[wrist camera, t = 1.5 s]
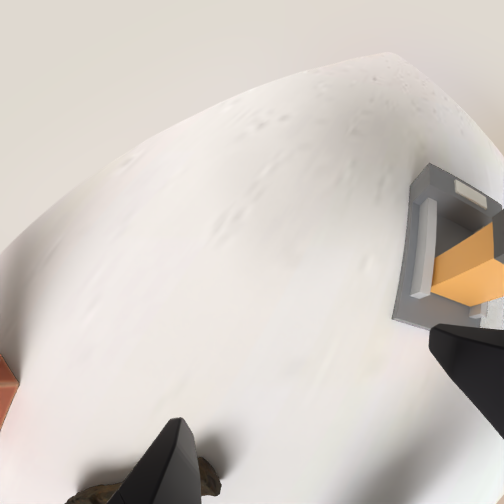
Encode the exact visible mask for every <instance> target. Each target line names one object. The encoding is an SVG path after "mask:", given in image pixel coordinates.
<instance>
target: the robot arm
mask: <svg viewBox="0 0 504 504" xmlns="http://www.w3.org/2000/svg"><path fill="white" fill-rule="evenodd" d="M429 350H430V351H431V353H432V354H433V356H434V357H435V358H436V360H437V361H438V362H439V364H440V365H441V366H442V368H443V369H444V370H445V372H446V373H447V374H448V376H449V377H450V378H451V379H452V380H453V382H454V383H455V384H456V385H457V386H458V387H459V388H460V389H461V390H462V391H463V393H464V394H465V395H466V396H467V397H468V398H469V399H470V400H471V401H472V403H473V404H474V405H475V406H476V407H477V408H478V409H479V411H480V412H481V413H482V414H483V415H484V416H485V418H486V419H487V420H488V421H489V422H490V423H491V425H492V426H493V427H494V428H495V429H496V431H497V432H498V433H499V434H500V435H501V437H502V438H503V439H504V330H497V329H486V328H477V327H468V326H459V325H450V324H442V323H439V324H437V325H435V326H433V327H432V328H431V329H430V335H429ZM106 504H201V485H200V472H199V466H198V460H197V454H196V448H195V441H194V436H193V433H192V431H191V430H190V428H189V427H188V425H187V423H186V422H185V420H184V419H183V418H181V417H179V418H173V419H170V420H169V421H168V423H167V424H166V425H165V427H164V428H163V429H162V431H161V432H160V434H159V435H158V436H157V438H156V439H155V440H154V442H153V443H152V444H151V446H150V447H149V448H148V450H147V451H146V452H145V454H144V455H143V457H142V458H141V459H140V461H139V462H138V463H137V465H136V466H135V467H134V468H133V470H132V471H131V472H130V474H129V475H128V476H127V478H126V479H125V480H124V482H123V483H122V484H121V485H120V487H119V488H118V490H117V491H116V492H115V493H114V494H113V496H112V497H111V498H110V499H109V501H108V502H107V503H106Z"/></svg>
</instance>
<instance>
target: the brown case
mask: <svg viewBox="0 0 504 504" xmlns="http://www.w3.org/2000/svg"><path fill="white" fill-rule="evenodd" d="M18 386H19V383H18V381H17V380H16V378H15V376H14V375H13V373H12V372H11V370H10V369H9V367H8V365H7V364H6V362H5V360H4V359H3V357H2V355H1V354H0V430H1V427H2V425H3V422H4V419H5V417H6V414H7V412H8V409H9V407H10V405H11V402H12V400H13V398H14V395H15V393H16V391H17V389H18Z"/></svg>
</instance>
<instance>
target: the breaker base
mask: <svg viewBox="0 0 504 504" xmlns="http://www.w3.org/2000/svg"><path fill="white" fill-rule="evenodd" d="M500 211H502V205H501V204H499V203H498V202H496V201H495V200H493V199H492V198H490V197H489V196H487V195H485V194H484V193H482V192H481V191H479V190H477V189H476V188H474V187H473V186H471V185H469V184H467V183H466V182H464V181H462V180H461V179H459V178H457V177H455V176H453V175H452V174H450V173H448V172H446V171H444V170H442V169H440V168H439V167H437V166H435V165H433V164H431V163H429V164H428V165H427V166H426V167H425V169H424V170H423V171H422V172H421V174H420V175H419V176H418V177H417V178H416V179H415V181H414V182H413V183H412V184H411V185H410V194H409V209H408V221H407V231H406V240H405V248H404V255H403V262H402V269H401V275H400V281H399V286H398V292H397V297H396V302H395V307H394V311H393V316H392V319H393V320H396V321H399V322H403V323H406V324H409V325H412V326H416V327H419V328H422V329H426V330H429V331H430V329H431V328H432V327H433V326H435V325H437V324H439V323H442V324H450V325H459V326H468V327H477V328H480V321H481V317H485V316H487V309H488V301H487V302H484V303H481V304H478V305H474V306H471V307H469V306H467V305H464V304H462V303H459V302H456V301H454V300H451V299H448V298H446V297H443V296H440V295H438V294H435V293H432V292H430V291H431V284H432V276H433V267H434V258H436V257H437V256H439V255H441V254H443V253H444V252H446V251H447V250H449V249H451V248H452V247H454V246H456V245H457V244H459V243H460V242H462V241H464V240H465V239H467V238H468V237H470V236H471V235H473V234H475V233H476V232H478V231H479V230H481V229H482V228H484V227H485V226H487V225H488V224H490V223H491V222H492V217H493V216H495V215H496V214H497V213H499V212H500Z"/></svg>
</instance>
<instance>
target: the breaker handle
mask: <svg viewBox="0 0 504 504" xmlns="http://www.w3.org/2000/svg"><path fill="white" fill-rule="evenodd" d="M430 292H432V293H435V294H438V295H440V296H443V297H446V298H448V299H451V300H454V301H456V302H459V303H462V304H464V305H467V306H469V307H471V306H474V305H478V304H481V303H484V302H487V301H491V300H494V299H497V298H500V297H503V296H504V209H503V210H502V211H500V212H499V213H497V214H496V215H495V216H493V217H492V222H491V223H490V224H488V225H487V226H485V227H484V228H482V229H481V230H479V231H478V232H476V233H475V234H473V235H471V236H470V237H468V238H467V239H465V240H464V241H462V242H460V243H459V244H457V245H456V246H454V247H452V248H451V249H449V250H447V251H446V252H444V253H443V254H441V255H439V256H437V257H436V258H434V267H433V276H432V284H431V291H430Z"/></svg>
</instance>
